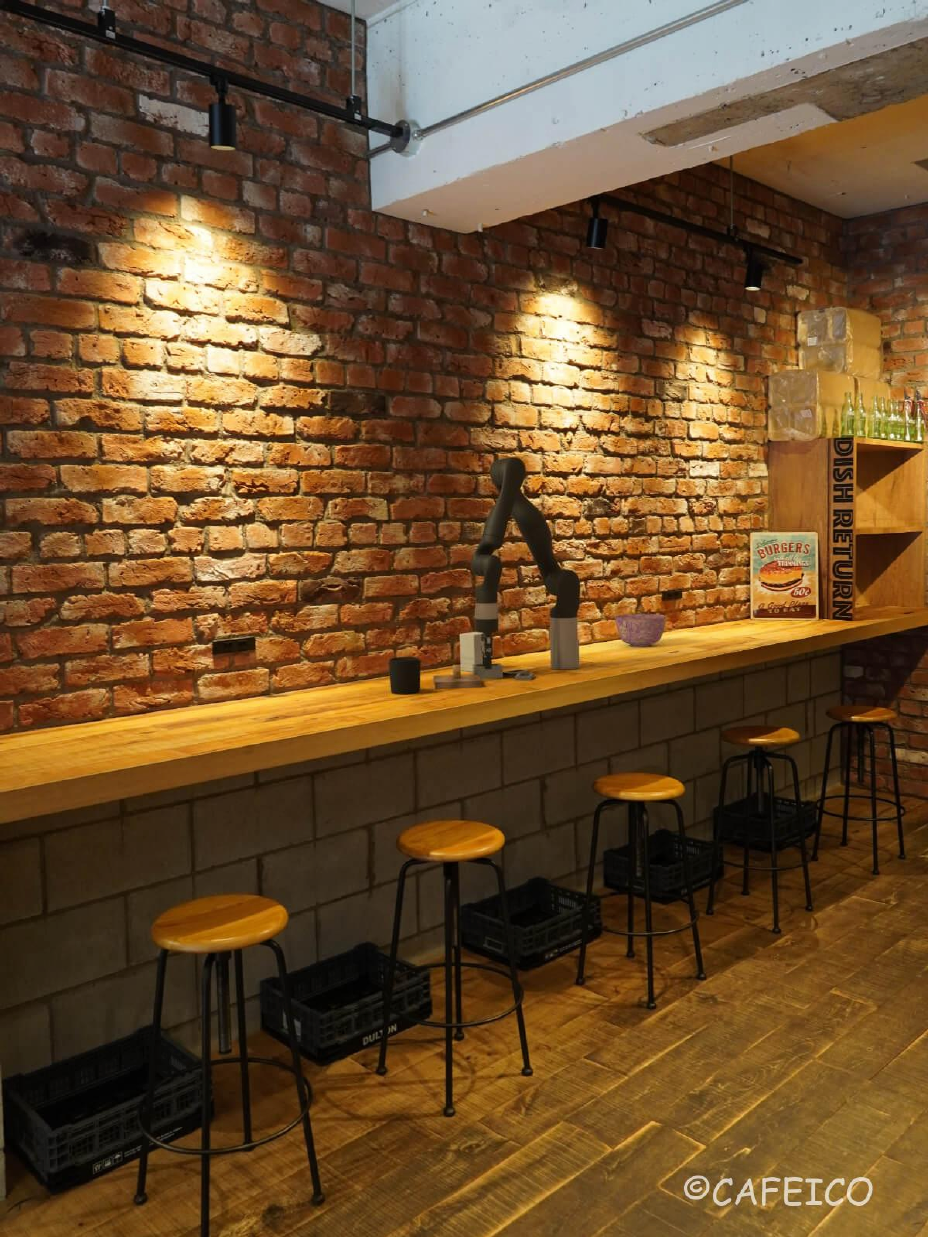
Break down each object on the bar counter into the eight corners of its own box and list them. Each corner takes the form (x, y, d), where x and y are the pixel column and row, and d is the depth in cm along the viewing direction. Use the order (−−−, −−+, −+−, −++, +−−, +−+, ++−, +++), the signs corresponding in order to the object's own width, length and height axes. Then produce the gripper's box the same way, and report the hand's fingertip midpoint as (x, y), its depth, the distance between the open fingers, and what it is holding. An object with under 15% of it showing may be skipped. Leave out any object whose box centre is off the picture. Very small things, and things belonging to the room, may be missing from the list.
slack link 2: (518, 676, 336) (518, 672, 336) (534, 676, 335) (534, 672, 335) (515, 680, 328) (515, 676, 328) (530, 680, 327) (530, 676, 327)
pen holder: (427, 691, 311) (426, 657, 310) (408, 695, 303) (407, 661, 303) (402, 688, 316) (401, 656, 316) (383, 693, 309) (382, 660, 308)
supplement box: (490, 670, 352) (489, 632, 351) (474, 672, 347) (473, 634, 346) (476, 668, 357) (475, 631, 356) (459, 670, 353) (458, 633, 351)
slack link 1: (519, 672, 344) (519, 669, 343) (529, 674, 340) (529, 670, 340) (501, 675, 339) (501, 671, 338) (511, 677, 335) (511, 673, 335)
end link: (500, 675, 339) (499, 663, 338) (502, 678, 333) (502, 665, 332) (472, 676, 338) (472, 664, 338) (474, 679, 332) (474, 666, 332)
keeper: (477, 680, 329) (477, 661, 329) (481, 687, 315) (481, 667, 315) (433, 682, 328) (433, 663, 328) (435, 688, 315) (434, 669, 314)
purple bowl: (611, 648, 402) (610, 618, 401) (619, 642, 421) (618, 614, 420) (663, 649, 396) (663, 619, 395) (669, 643, 415) (669, 614, 414)
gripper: (500, 618, 327) (500, 670, 328) (496, 615, 341) (496, 664, 343) (476, 619, 327) (477, 670, 328) (473, 615, 341) (473, 664, 342)
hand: (487, 667), depth 335 cm, fingers open, 8 cm apart
